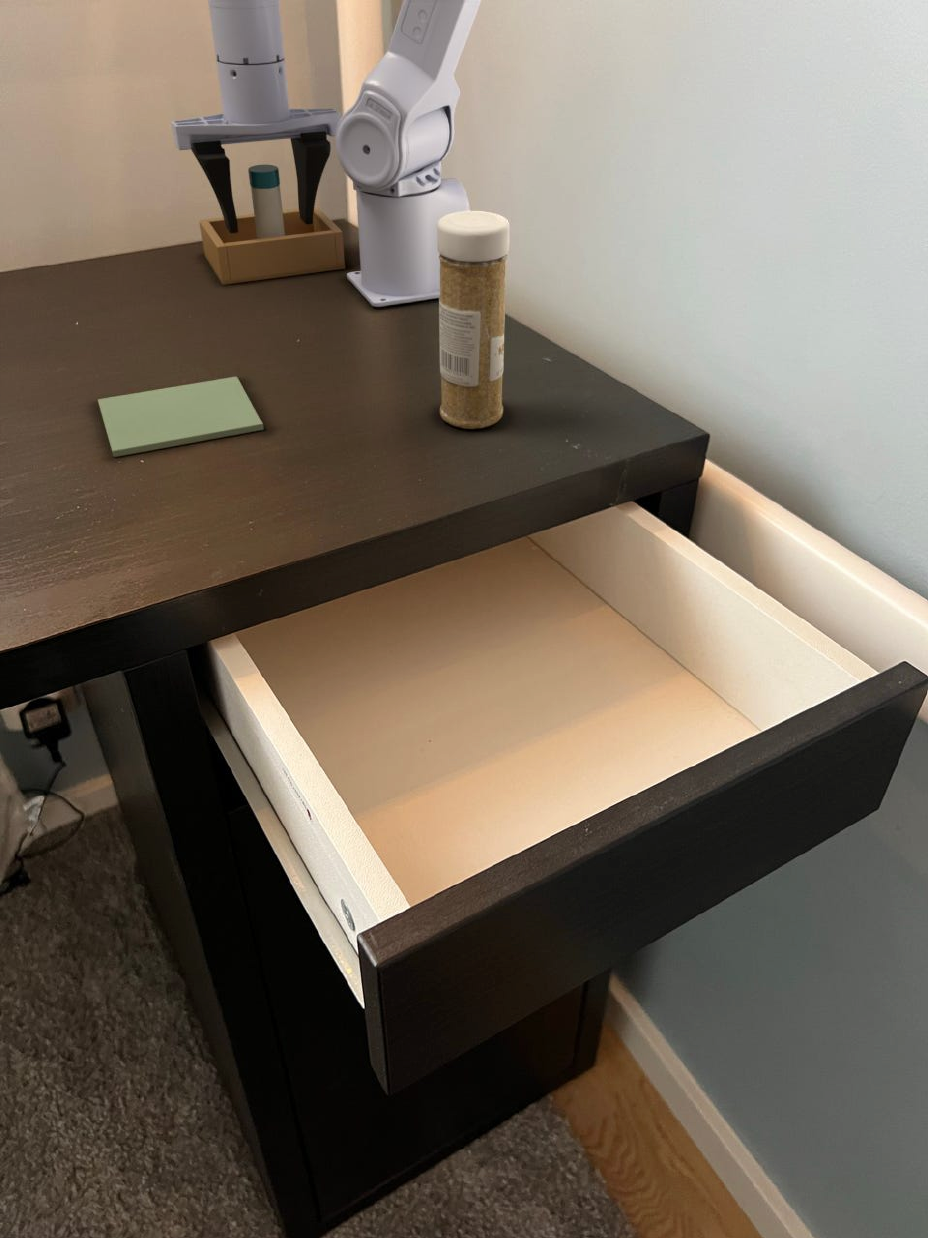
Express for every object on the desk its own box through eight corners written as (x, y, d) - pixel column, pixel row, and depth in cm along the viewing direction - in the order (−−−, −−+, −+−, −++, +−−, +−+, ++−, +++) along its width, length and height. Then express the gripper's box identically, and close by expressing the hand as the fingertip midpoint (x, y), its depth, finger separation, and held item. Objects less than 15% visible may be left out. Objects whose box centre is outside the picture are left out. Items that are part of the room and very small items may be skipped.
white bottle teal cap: (283, 251, 93) (274, 162, 88) (291, 260, 91) (281, 170, 86) (256, 255, 92) (244, 165, 87) (263, 264, 90) (251, 173, 85)
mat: (237, 382, 72) (236, 375, 71) (263, 429, 66) (262, 423, 66) (99, 405, 69) (97, 398, 68) (113, 457, 63) (112, 450, 63)
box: (320, 241, 96) (317, 206, 94) (345, 268, 91) (342, 231, 88) (204, 256, 93) (198, 219, 91) (222, 284, 87) (216, 246, 85)
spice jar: (515, 420, 67) (525, 222, 59) (461, 437, 65) (463, 235, 57) (478, 395, 70) (483, 203, 62) (426, 411, 68) (422, 215, 60)
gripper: (320, 46, 86) (332, 204, 95) (155, 55, 82) (183, 221, 90) (343, 59, 81) (354, 225, 90) (169, 70, 77) (198, 244, 85)
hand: (269, 225), depth 90 cm, fingers open, 6 cm apart
